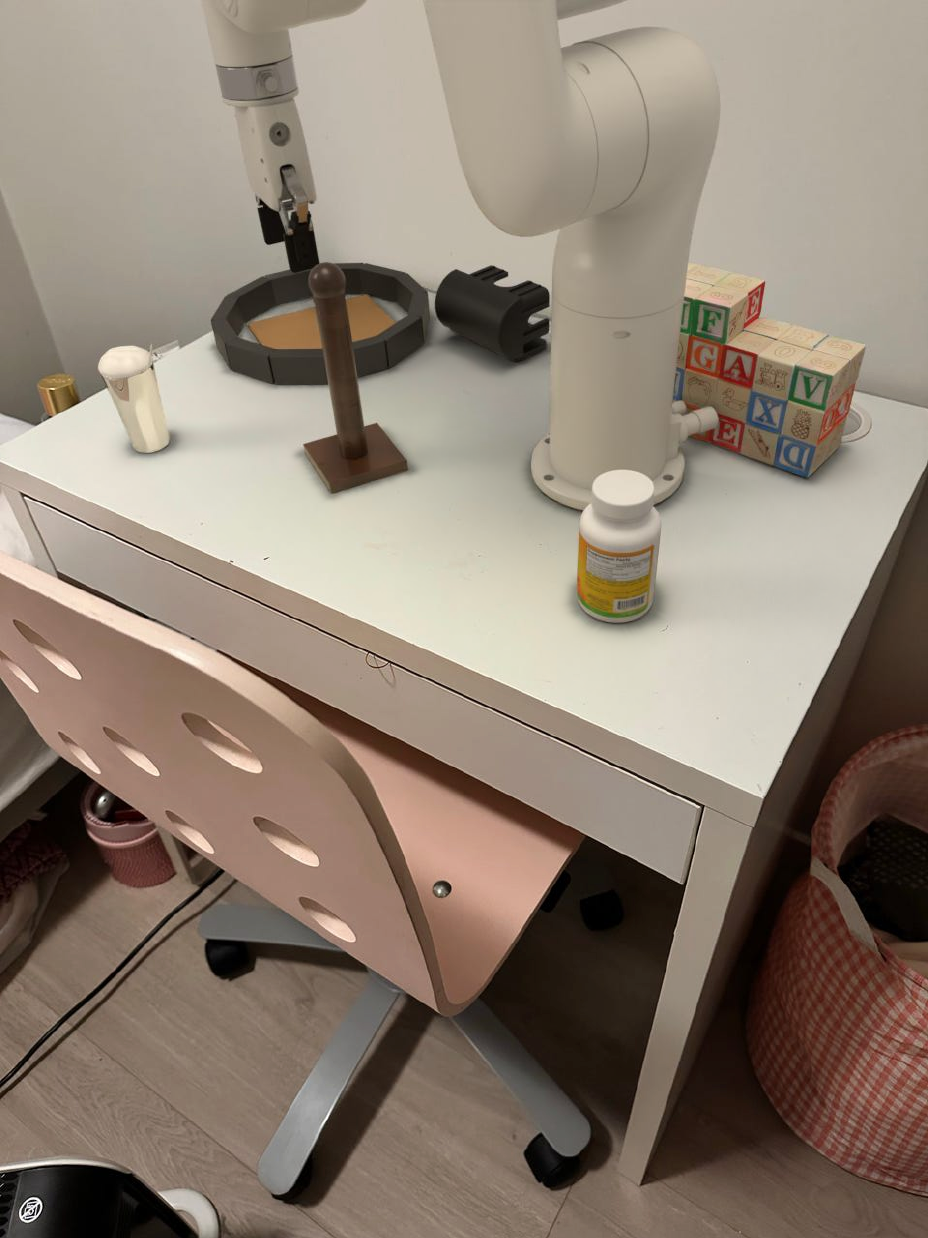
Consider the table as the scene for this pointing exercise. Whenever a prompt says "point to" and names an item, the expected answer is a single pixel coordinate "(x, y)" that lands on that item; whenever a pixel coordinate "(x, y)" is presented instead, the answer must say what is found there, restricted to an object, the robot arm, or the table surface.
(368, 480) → the headphone stand
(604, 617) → the supplement bottle
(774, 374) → the stack of blocks
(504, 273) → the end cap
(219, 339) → the ring
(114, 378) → the milkshake
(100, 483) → the table surface
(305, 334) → the desk pad
